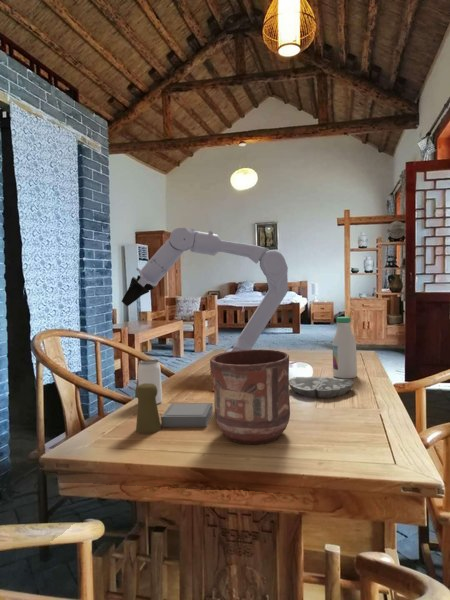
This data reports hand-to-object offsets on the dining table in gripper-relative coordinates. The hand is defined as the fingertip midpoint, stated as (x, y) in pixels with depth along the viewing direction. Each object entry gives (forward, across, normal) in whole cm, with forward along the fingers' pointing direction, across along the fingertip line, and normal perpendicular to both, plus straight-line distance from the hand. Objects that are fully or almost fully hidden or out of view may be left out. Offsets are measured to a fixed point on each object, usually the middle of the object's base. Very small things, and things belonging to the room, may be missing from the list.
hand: (127, 301), depth 124 cm
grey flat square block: (+10, +13, +32) cm, 36 cm away
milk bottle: (-24, -23, +70) cm, 77 cm away
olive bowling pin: (+16, +19, +25) cm, 35 cm away
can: (+19, -4, +24) cm, 31 cm away
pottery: (-1, +26, +42) cm, 50 cm away
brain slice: (-15, -6, +60) cm, 62 cm away
